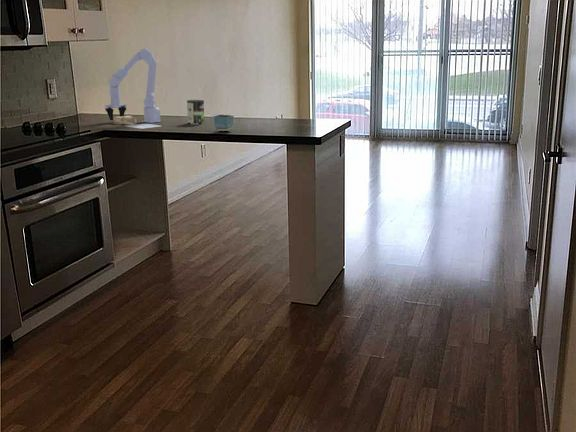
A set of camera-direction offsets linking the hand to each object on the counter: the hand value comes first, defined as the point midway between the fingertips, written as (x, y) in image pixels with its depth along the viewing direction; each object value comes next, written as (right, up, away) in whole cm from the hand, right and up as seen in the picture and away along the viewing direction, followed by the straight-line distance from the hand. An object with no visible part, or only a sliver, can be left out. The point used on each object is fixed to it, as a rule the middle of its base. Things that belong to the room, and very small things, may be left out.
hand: (116, 119), depth 371 cm
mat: (+20, -6, -15) cm, 26 cm away
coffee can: (+49, -3, +1) cm, 49 cm away
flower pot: (+70, -12, -32) cm, 77 cm away
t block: (+9, -4, -6) cm, 11 cm away
